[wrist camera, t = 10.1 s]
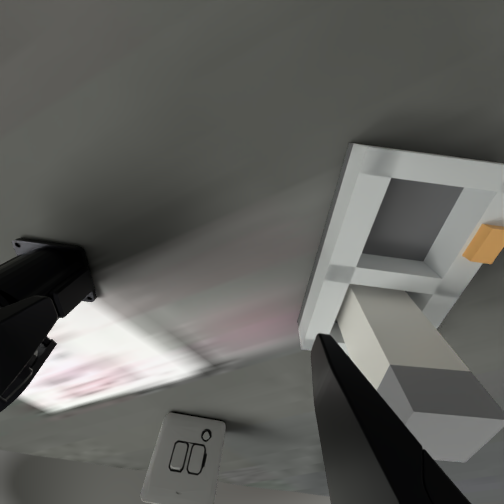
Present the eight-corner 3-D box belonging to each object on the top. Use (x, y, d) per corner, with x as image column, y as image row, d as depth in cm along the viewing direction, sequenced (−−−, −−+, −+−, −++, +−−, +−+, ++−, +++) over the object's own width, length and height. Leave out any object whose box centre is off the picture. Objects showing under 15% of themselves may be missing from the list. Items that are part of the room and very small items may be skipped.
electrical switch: (227, 419, 36) (214, 509, 28) (223, 432, 39) (210, 516, 31) (166, 409, 35) (136, 496, 28) (167, 422, 38) (139, 505, 31)
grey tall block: (335, 316, 23) (383, 454, 13) (346, 278, 21) (413, 411, 11) (381, 319, 23) (464, 462, 13) (398, 282, 21) (510, 420, 11)
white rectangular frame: (297, 321, 25) (302, 356, 21) (349, 142, 17) (372, 147, 13) (394, 334, 25) (416, 371, 21) (495, 162, 17) (563, 173, 13)
